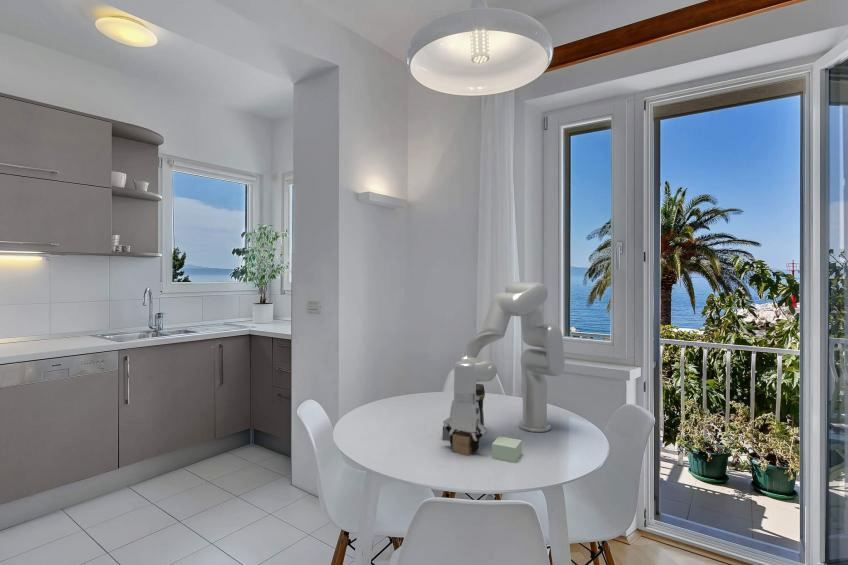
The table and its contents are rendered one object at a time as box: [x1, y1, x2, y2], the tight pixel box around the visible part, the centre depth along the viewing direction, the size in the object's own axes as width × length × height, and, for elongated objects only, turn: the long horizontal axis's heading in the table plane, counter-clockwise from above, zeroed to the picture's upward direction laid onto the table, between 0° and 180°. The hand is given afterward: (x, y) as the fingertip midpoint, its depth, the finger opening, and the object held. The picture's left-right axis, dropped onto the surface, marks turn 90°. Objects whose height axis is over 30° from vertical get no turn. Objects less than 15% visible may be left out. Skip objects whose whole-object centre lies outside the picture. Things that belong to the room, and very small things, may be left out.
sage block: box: [491, 436, 523, 464], centre depth 149 cm, size 8×8×5 cm
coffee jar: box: [476, 383, 486, 433], centre depth 174 cm, size 10×8×19 cm
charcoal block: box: [442, 422, 459, 442], centre depth 166 cm, size 5×5×5 cm
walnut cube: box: [451, 430, 474, 457], centre depth 154 cm, size 6×6×6 cm
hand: (464, 448), depth 154 cm, fingers open, 7 cm apart
